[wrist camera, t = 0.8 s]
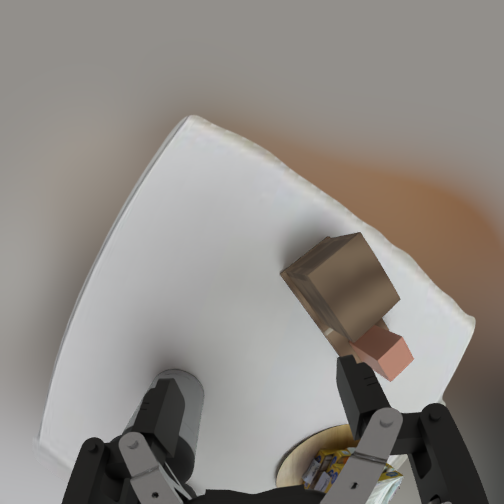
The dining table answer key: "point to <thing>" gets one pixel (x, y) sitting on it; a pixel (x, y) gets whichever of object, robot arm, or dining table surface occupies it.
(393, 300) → the walnut socket base
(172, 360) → the dining table surface
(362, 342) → the terracotta plug
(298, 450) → the stacked packages on board
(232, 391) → the dining table surface
